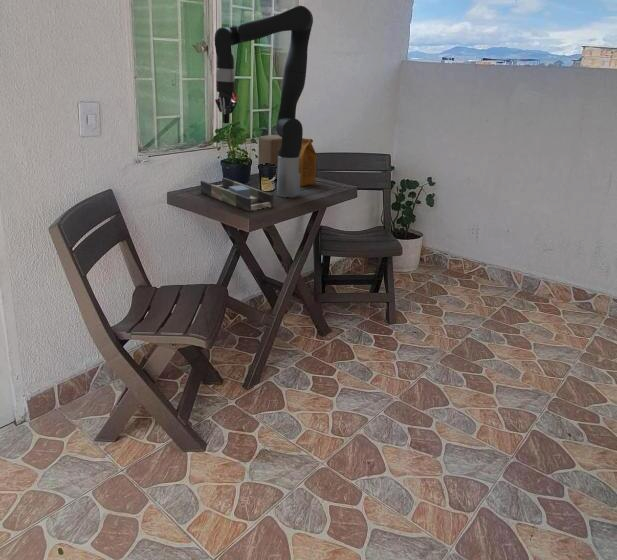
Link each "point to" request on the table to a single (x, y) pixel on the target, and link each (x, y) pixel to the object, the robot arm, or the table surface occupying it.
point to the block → (269, 149)
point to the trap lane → (238, 195)
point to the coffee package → (307, 163)
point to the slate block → (240, 190)
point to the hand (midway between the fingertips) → (226, 123)
